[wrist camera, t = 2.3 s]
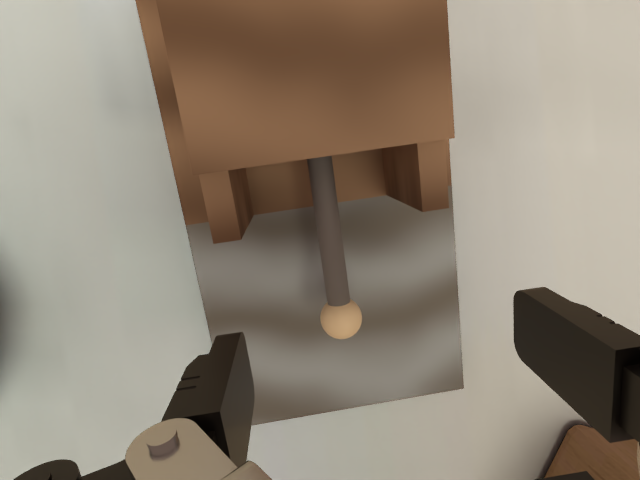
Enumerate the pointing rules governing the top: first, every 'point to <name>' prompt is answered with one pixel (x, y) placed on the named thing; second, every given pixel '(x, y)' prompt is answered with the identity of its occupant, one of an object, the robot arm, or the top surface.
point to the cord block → (332, 253)
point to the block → (595, 456)
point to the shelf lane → (295, 190)
